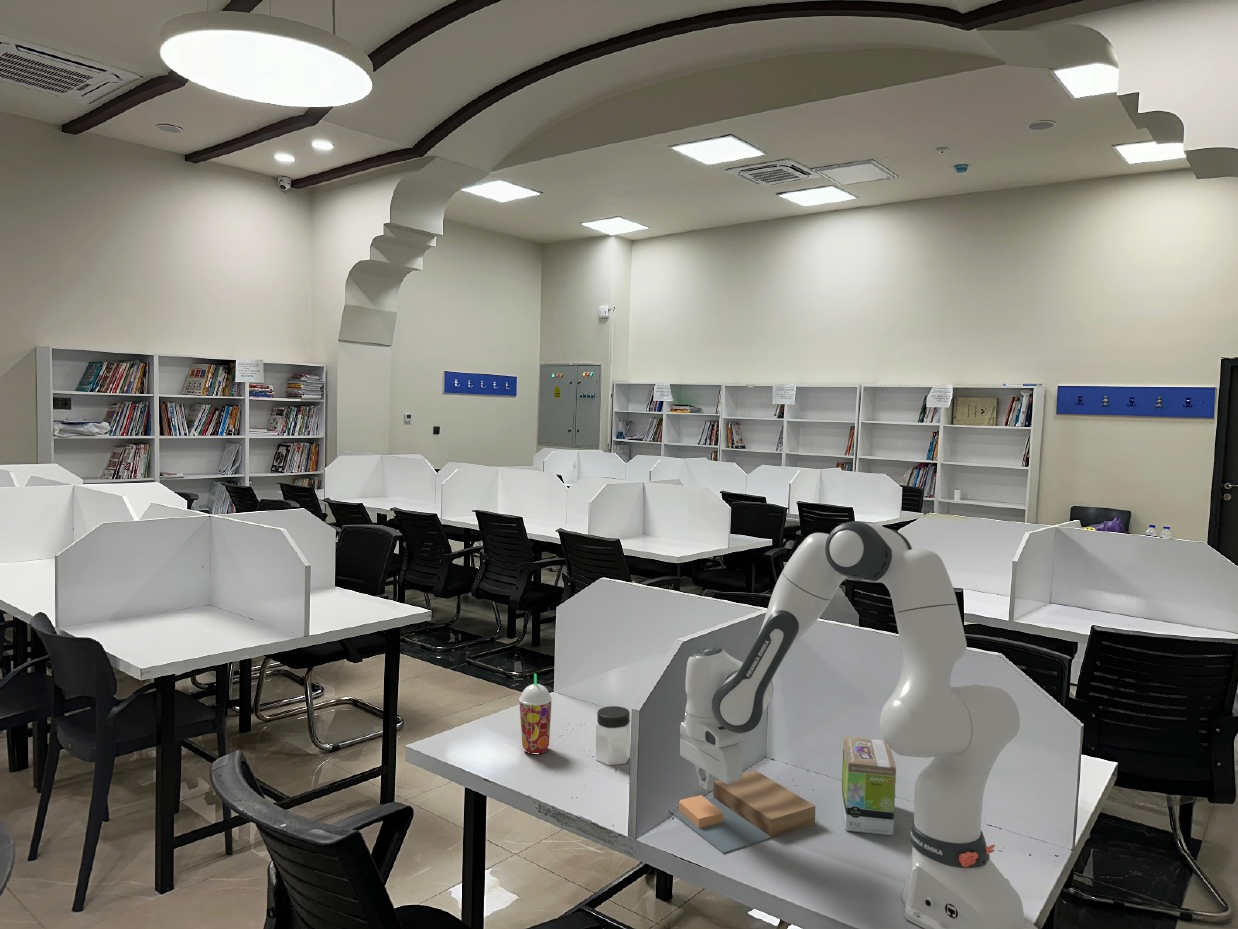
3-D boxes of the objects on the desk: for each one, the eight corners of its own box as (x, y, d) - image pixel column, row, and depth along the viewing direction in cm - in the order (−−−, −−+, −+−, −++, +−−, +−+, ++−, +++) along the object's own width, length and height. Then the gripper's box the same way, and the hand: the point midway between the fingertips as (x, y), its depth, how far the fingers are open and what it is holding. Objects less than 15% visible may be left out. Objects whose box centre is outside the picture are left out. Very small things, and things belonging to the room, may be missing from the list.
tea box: (895, 837, 173) (897, 767, 172) (844, 832, 175) (846, 762, 174) (887, 803, 187) (888, 738, 186) (840, 799, 189) (842, 735, 188)
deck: (815, 824, 178) (815, 806, 177) (770, 838, 172) (771, 819, 171) (755, 787, 195) (755, 770, 195) (713, 798, 189) (713, 781, 189)
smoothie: (522, 743, 220) (521, 668, 218) (553, 744, 219) (553, 669, 218) (517, 757, 211) (516, 679, 210) (549, 757, 211) (549, 679, 210)
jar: (599, 767, 206) (599, 719, 205) (592, 753, 213) (592, 707, 213) (634, 763, 208) (634, 716, 207) (626, 750, 216) (626, 704, 215)
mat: (770, 838, 172) (770, 837, 172) (723, 854, 166) (723, 852, 166) (713, 798, 189) (713, 797, 189) (668, 811, 183) (668, 810, 183)
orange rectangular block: (698, 818, 175) (698, 828, 175) (723, 813, 178) (723, 822, 178) (677, 800, 183) (677, 809, 183) (701, 795, 186) (701, 803, 186)
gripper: (666, 712, 185) (666, 773, 186) (723, 743, 167) (722, 810, 168) (690, 707, 188) (690, 767, 189) (748, 736, 170) (747, 803, 171)
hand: (706, 788), depth 178 cm, fingers closed
